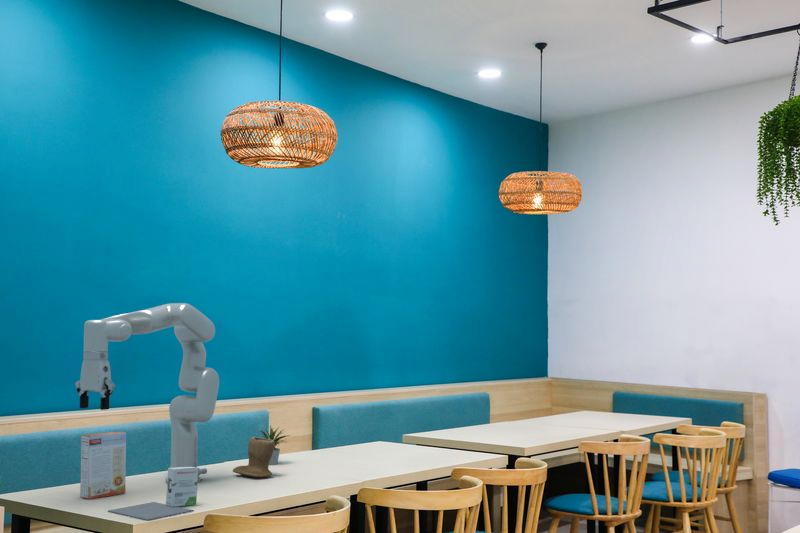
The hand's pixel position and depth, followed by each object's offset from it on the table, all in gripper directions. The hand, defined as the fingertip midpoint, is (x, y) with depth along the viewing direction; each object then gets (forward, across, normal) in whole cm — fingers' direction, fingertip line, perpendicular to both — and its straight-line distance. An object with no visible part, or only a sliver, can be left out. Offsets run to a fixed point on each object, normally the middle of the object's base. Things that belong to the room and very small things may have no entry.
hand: (94, 408), depth 285 cm
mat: (+30, -30, +3) cm, 42 cm away
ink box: (+30, -31, -8) cm, 44 cm away
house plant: (+31, -6, -89) cm, 94 cm away
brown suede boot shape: (+31, -18, -64) cm, 73 cm away
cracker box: (+30, +3, -7) cm, 31 cm away
